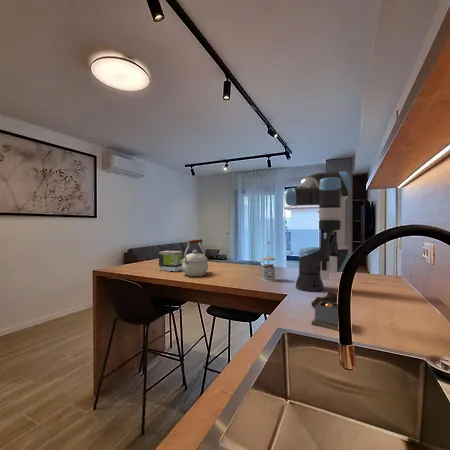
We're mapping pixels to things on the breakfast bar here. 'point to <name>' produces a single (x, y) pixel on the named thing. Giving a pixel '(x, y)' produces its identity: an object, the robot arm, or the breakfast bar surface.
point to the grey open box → (326, 313)
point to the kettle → (195, 261)
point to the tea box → (170, 260)
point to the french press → (268, 270)
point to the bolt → (326, 298)
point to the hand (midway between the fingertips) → (329, 275)
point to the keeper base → (324, 325)
